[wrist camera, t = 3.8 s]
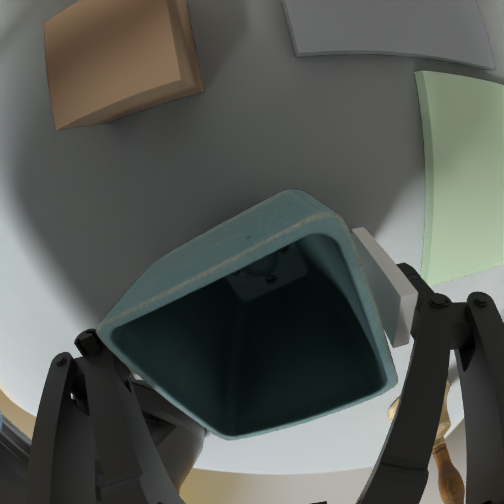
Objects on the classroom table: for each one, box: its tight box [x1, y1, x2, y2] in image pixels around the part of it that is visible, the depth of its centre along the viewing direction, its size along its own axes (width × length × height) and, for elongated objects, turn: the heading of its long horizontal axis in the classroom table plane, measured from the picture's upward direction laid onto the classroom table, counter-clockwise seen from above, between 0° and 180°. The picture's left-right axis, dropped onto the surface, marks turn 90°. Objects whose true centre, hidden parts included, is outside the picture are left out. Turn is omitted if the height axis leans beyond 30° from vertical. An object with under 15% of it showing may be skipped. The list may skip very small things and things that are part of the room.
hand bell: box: [388, 379, 465, 504], centre depth 18 cm, size 8×8×16 cm
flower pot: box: [96, 189, 398, 440], centre depth 13 cm, size 9×9×9 cm
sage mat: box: [414, 70, 504, 286], centre depth 14 cm, size 14×14×1 cm
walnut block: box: [44, 0, 204, 131], centre depth 10 cm, size 6×6×5 cm
